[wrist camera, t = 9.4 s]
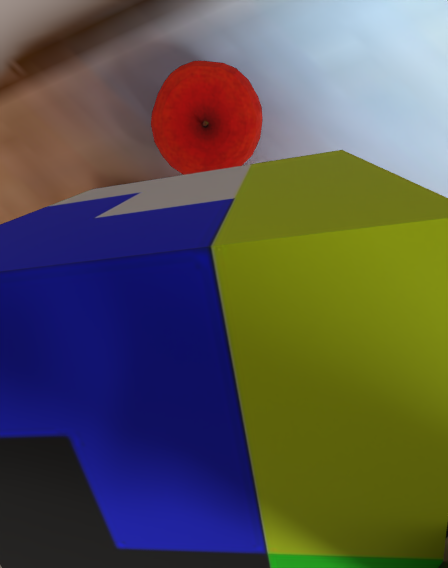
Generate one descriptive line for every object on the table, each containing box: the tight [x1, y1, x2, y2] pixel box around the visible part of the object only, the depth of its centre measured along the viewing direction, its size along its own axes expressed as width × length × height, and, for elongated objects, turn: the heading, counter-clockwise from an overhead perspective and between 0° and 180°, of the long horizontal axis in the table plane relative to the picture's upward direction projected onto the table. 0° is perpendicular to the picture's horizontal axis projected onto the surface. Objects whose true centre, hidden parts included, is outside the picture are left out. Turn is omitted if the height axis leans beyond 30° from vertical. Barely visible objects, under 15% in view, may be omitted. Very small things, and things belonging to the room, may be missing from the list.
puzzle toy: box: [0, 150, 448, 568], centre depth 12 cm, size 10×10×10 cm
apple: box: [151, 61, 262, 175], centre depth 31 cm, size 9×9×8 cm
